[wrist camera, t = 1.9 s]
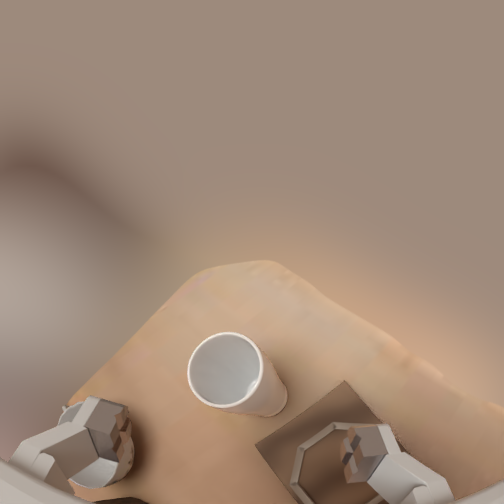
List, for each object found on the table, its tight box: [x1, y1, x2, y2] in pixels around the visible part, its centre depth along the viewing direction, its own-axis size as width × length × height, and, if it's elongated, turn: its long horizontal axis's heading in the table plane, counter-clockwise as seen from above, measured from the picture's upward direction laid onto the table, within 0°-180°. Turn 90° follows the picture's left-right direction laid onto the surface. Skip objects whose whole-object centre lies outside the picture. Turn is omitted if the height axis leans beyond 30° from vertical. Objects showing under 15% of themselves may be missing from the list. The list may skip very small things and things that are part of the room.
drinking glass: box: [187, 332, 288, 417], centre depth 29 cm, size 7×7×15 cm
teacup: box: [58, 401, 134, 489], centre depth 32 cm, size 15×12×8 cm
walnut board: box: [255, 381, 412, 504], centre depth 25 cm, size 20×13×2 cm, turn 34°
